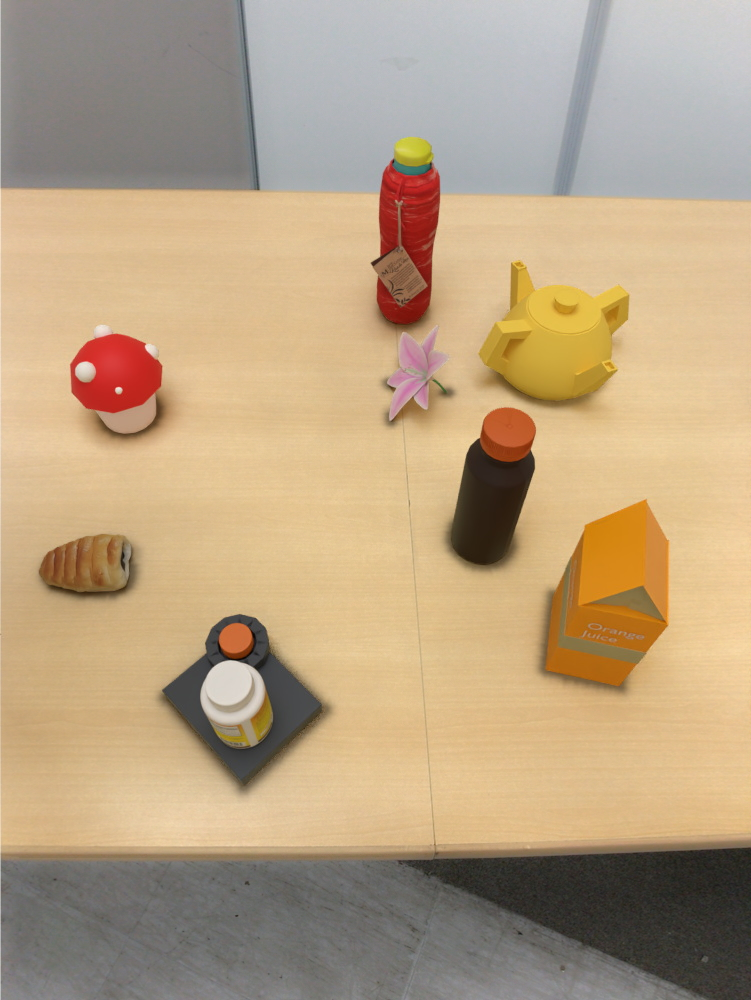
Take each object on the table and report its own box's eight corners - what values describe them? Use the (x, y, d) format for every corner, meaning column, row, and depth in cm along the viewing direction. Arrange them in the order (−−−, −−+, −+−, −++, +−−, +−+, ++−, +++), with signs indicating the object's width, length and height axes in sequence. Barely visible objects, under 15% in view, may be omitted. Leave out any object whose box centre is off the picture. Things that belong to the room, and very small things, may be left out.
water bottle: (414, 354, 101) (428, 186, 80) (359, 339, 102) (359, 171, 82) (439, 298, 108) (458, 130, 87) (387, 285, 109) (394, 117, 88)
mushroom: (144, 370, 98) (121, 299, 88) (192, 417, 94) (172, 348, 84) (72, 411, 94) (39, 340, 84) (118, 462, 90) (89, 394, 80)
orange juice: (623, 610, 80) (692, 506, 63) (620, 687, 75) (694, 596, 58) (551, 595, 81) (600, 488, 64) (543, 670, 76) (594, 576, 59)
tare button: (214, 644, 73) (212, 637, 72) (239, 623, 75) (237, 616, 73) (235, 665, 72) (232, 659, 71) (260, 644, 73) (258, 637, 72)
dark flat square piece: (159, 689, 74) (151, 676, 71) (245, 618, 78) (241, 603, 76) (243, 786, 69) (238, 776, 66) (330, 703, 73) (329, 691, 70)
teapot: (469, 390, 97) (482, 321, 88) (502, 310, 106) (517, 239, 97) (596, 426, 94) (624, 358, 85) (618, 341, 103) (646, 270, 93)
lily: (407, 356, 102) (376, 317, 94) (487, 354, 96) (460, 312, 88) (386, 434, 99) (352, 401, 91) (467, 438, 93) (438, 402, 85)
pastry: (41, 601, 79) (28, 584, 76) (48, 548, 83) (36, 529, 80) (130, 592, 80) (121, 574, 77) (134, 539, 84) (125, 520, 81)
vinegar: (440, 525, 85) (460, 410, 69) (492, 508, 87) (524, 391, 70) (466, 573, 82) (493, 464, 65) (520, 554, 83) (560, 443, 67)
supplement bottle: (263, 684, 72) (251, 641, 64) (281, 737, 69) (270, 700, 61) (207, 705, 71) (187, 664, 63) (223, 760, 68) (204, 725, 60)
